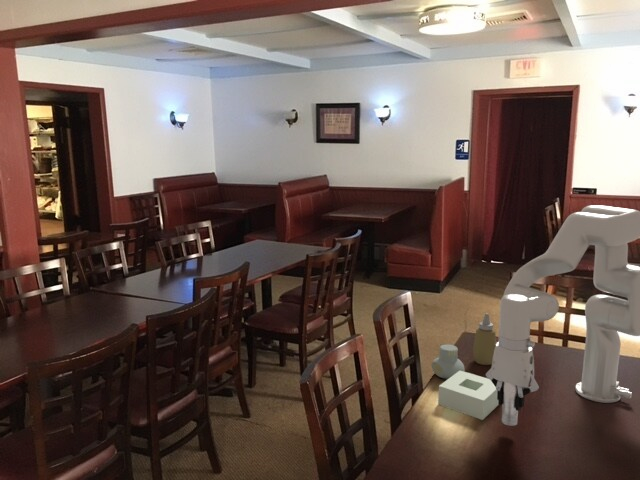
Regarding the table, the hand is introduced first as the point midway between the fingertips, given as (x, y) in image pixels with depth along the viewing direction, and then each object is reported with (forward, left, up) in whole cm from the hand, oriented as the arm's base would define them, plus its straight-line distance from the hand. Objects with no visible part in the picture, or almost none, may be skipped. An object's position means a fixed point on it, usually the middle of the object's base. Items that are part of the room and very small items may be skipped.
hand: (510, 405), depth 145 cm
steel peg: (0, 0, -5) cm, 5 cm away
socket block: (+15, -9, -8) cm, 20 cm away
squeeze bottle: (+24, -40, -9) cm, 48 cm away
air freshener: (+29, -22, -9) cm, 38 cm away
